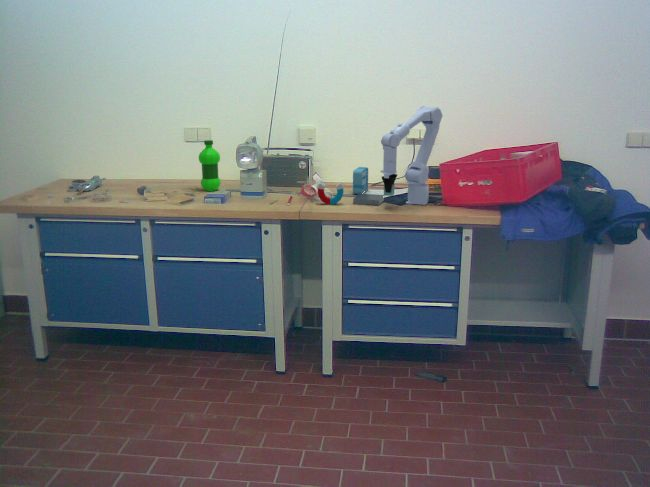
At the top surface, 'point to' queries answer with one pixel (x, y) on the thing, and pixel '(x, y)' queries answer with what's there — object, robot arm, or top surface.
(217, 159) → the plastic bottle
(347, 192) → the top surface
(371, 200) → the base block
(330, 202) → the magnet
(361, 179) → the data package
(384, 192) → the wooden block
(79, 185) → the grey irregular piece
